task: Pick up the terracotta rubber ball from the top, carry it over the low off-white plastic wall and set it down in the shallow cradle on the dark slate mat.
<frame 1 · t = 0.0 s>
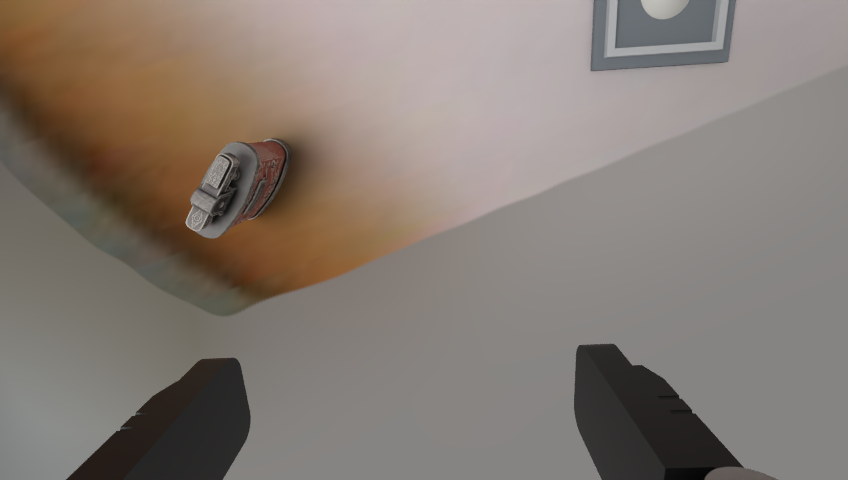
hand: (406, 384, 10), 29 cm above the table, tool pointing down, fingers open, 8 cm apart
lighter: (263, 178, 38), on the table
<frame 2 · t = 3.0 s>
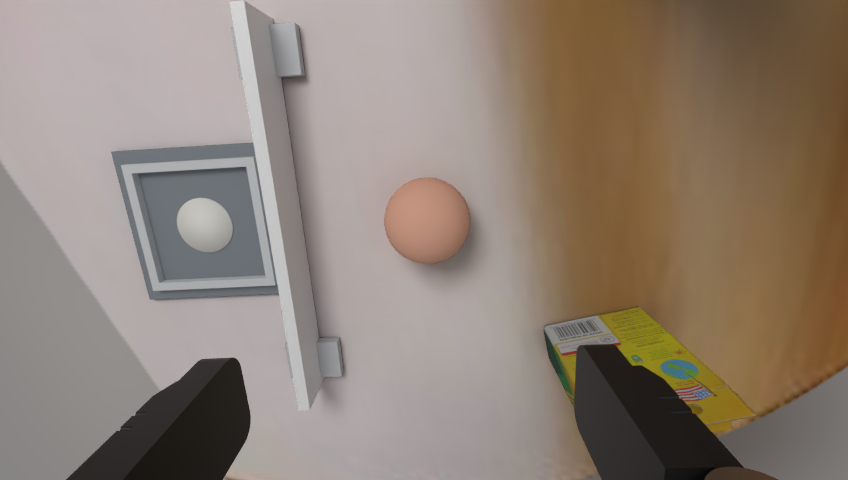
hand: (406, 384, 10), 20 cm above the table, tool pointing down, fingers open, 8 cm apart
low wall: (296, 219, 30), on the table
rubber ball: (427, 220, 26), point 3 cm above the table
slate mat: (208, 224, 30), on the table
crayon box: (592, 331, 31), on the table
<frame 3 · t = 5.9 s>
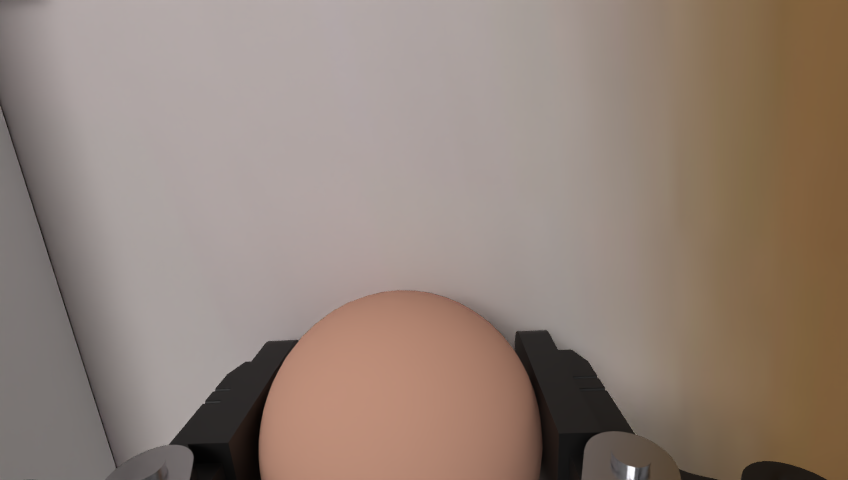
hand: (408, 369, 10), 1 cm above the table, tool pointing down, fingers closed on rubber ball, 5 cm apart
low wall: (69, 367, 11), on the table
rubber ball: (403, 425, 8), point 3 cm above the table, touching gripper
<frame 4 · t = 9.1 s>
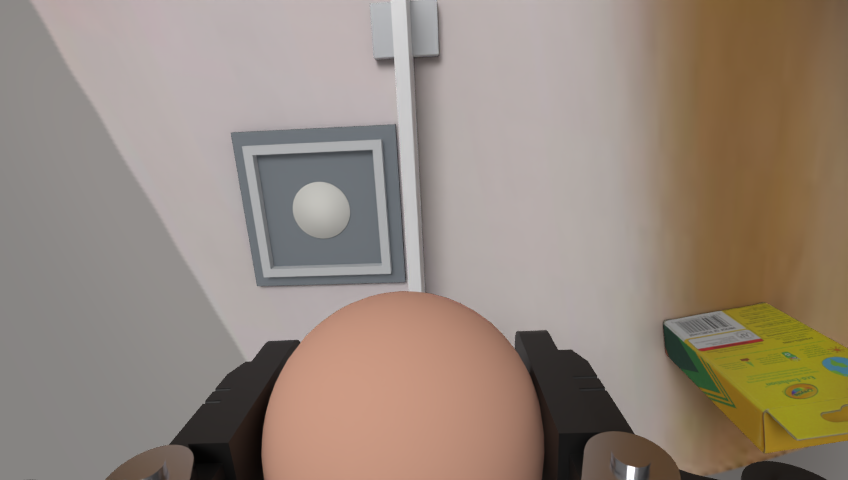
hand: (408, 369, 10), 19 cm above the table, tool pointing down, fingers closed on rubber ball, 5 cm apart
low wall: (415, 205, 29), on the table
rubber ball: (405, 426, 8), point 21 cm above the table, touching gripper
slate mat: (323, 209, 29), on the table
crayon box: (712, 327, 30), on the table
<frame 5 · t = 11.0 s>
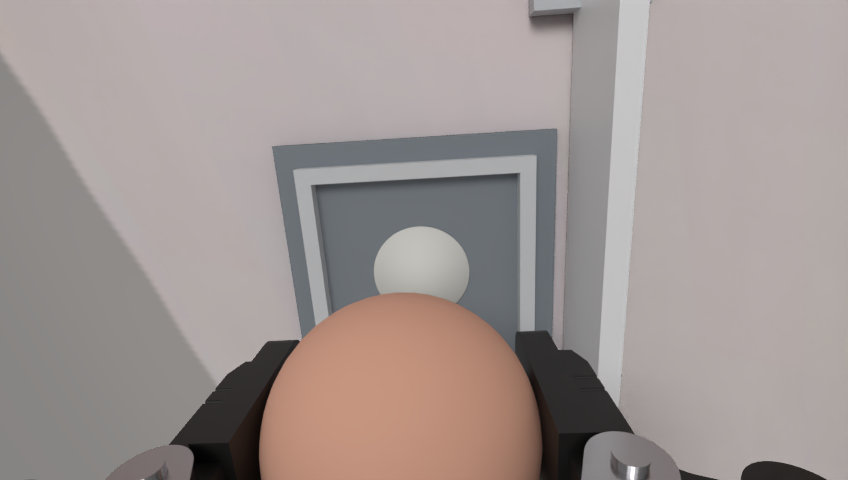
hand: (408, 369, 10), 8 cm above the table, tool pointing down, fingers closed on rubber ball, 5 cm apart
low wall: (575, 261, 17), on the table
rubber ball: (403, 427, 8), point 10 cm above the table, touching gripper
slate mat: (421, 269, 18), on the table
when the fingers open (2 cm above the table, at t = 12.7 s): rubber ball drops 1 cm, resting on slate mat.
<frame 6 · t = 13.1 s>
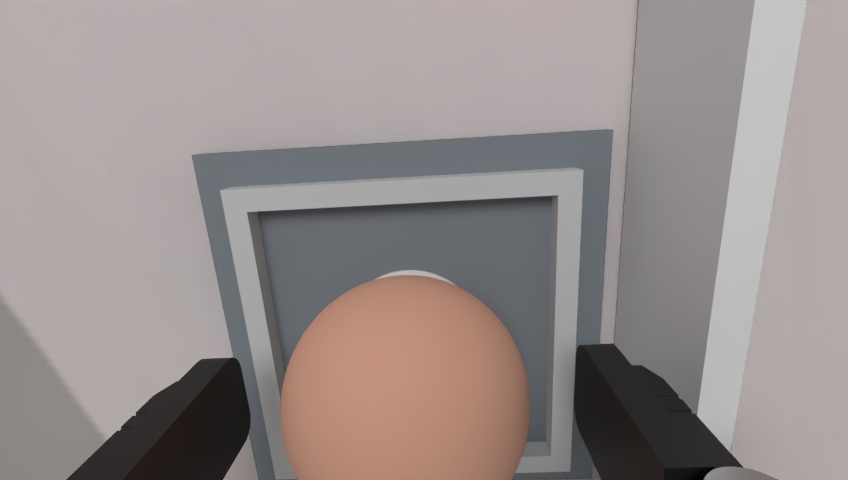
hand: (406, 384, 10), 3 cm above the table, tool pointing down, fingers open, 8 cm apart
low wall: (629, 317, 12), on the table
rubber ball: (407, 395, 9), point 3 cm above the table, touching slate mat
slate mat: (412, 326, 13), on the table
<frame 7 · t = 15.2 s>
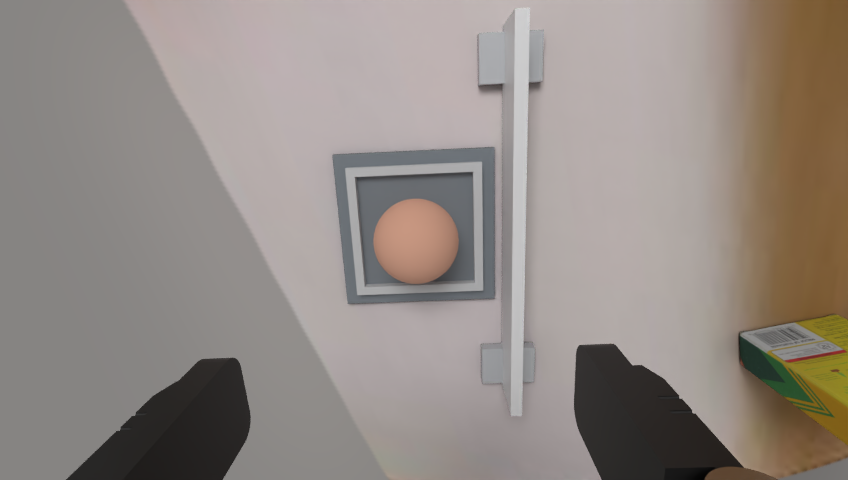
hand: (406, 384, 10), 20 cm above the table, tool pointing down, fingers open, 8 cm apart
low wall: (507, 224, 30), on the table
rubber ball: (416, 241, 27), point 3 cm above the table, touching slate mat
slate mat: (417, 228, 30), on the table
crayon box: (784, 337, 32), on the table
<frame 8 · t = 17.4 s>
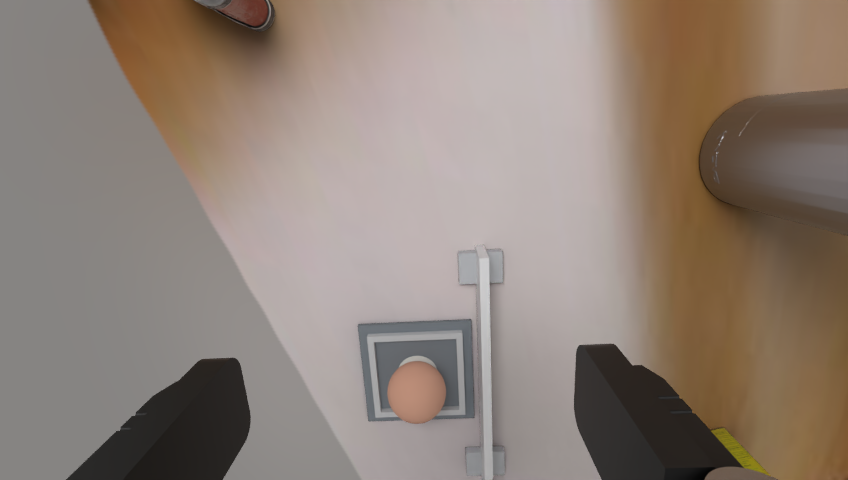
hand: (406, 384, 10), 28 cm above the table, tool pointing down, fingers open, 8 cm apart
low wall: (482, 368, 41), on the table
rubber ball: (416, 391, 39), point 3 cm above the table, touching slate mat
slate mat: (417, 371, 42), on the table
crayon box: (688, 442, 43), on the table
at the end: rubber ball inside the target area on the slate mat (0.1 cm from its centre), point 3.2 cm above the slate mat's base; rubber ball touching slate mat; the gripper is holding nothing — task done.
